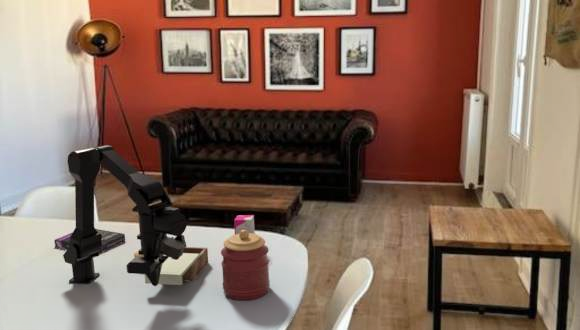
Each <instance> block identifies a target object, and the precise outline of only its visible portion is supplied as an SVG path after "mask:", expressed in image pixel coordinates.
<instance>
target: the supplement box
mask: <svg viewBox="0 0 580 330" xmlns="http://www.w3.org/2000/svg"><path fill="white" fill-rule="evenodd" d="M233 223H234V224H233V226H234V235H236V234H239V233H240V231H241V230H247V231H248V233H252V234H256V233H255V232H256V231H255V215H254V214H246V215H245V214H244V215H243V214H239V215H236V217H235V218H234V220H233Z"/></svg>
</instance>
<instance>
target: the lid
mask: <svg viewBox="0 0 580 330" xmlns="http://www.w3.org/2000/svg"><path fill="white" fill-rule="evenodd" d="M164 256H166V255H164ZM199 256H200V254H194V253H183V255H182V256H180V257H179V259H178V260H174V259H172V258H171V257H169V258H168V259H167V260H166V261H165V262H164V263H163V264H162V268H161V273H160V277H159V282H158V285H170V286H171V285H173V286H182V285H183V284H184V283H183V282H184V281H182V276H183V274H184V273H185V272H186V271H187V270H188V269H189V268H190V267H191V265H192V264H193V263H194V262H195V261H196V260H197V259H198V258H199ZM144 280H145V281H144V282H145V284H151V285H152V283H151V282H150V280H149V279H148V277H147V276H146V274H144Z"/></svg>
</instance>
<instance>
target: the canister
mask: <svg viewBox="0 0 580 330" xmlns="http://www.w3.org/2000/svg"><path fill="white" fill-rule="evenodd" d="M223 246H224V247H223V248H222V249H221V250H220V254H221V256H222V261H221V268H222V269H221V270H222V289H223V293H224V295H225V296H226V297H228V298H230V299H233V300H238V301H250V300H251V301H252V300H255V299H258V298H259V299H260V298H262V297H263V296H265V295H266V294H268V293H269V291H270V285H271V283H270V282H271V281H270V273H269V270H270V269H269V263H270V258H268V253H269V250H270V249H269V247H268V246H267V245H266V240H265V239H264V238H263V237H261V236H259V234H257V233H255V234H252V233H248V231H247V230H241V231H240V233H239V234H236V235H235V234H234V235H233V234H232V235H231V236H229V237H228V238H227V239H225V240H224V241H223Z"/></svg>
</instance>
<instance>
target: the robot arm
mask: <svg viewBox="0 0 580 330" xmlns="http://www.w3.org/2000/svg"><path fill="white" fill-rule="evenodd" d="M67 165H68V172H69V174H70V175H71V176H72V178H73V179H74V185H75V186H74V188H75V189H74V193H75V195H74V196H75V197H74V198H75V202H74V203H75V228H74V230H73V231H72V232H71V233H72V235H71V236H70V242H69V248H68V249H65V250H66V251H65V252H64V253H63V255H62V257H63V261H64V262H65V263H67V264H69V265H71V269H72V277H71V278H70V279H69V280H68V282H69V283H75V284H76V283H77V284H90V283H91V282H93V281H94V280H95V279H96V278H97V277H98V276H100V273H99V272H95V262H94V258H96V257H99V256H100V254H101V253H100V248H101V246H102V242H101V239H102V235H101V234H100V233H98V232H97V230H96V229H97V228H96V227H95V180H96V177H97V176H98V174H99V173H100V171H101V166H102V167H103V168H105V170H107V171H108V172H109V174H110V175H112V176H113V177H114V178H115V179H116V180H117V181H119V182H120V183H121V184H122V185H123V186H124V187H125V188H126V189H127V190H126V191H127V196H128V197H129V198H130V199H131V201H132V202H133V203H134V204H135V206H133V208H131V211H132V212H134V213H137V214H138V215H137V216H138V226H139V233H138V234H137V235H136V240H139V241H140V249H138V251H137V252H138V254H139V255H143V256H144V257H135V258H134V257H133V259H131V260H130V261H129V262H128V263H127V264H126V272H127V274H135V275H145V274H146V276H147V277H148V279H149V280H150V282H151V283H152V284H151V285H152V286H154V287H157V286H158V285H159V284H158V282H159V277H160V273H161V268H162V264H163V263H164V262H165V261H166V260H167V259H168V258H169V257H171V258H172V259H174V260H178V259H179V257H180V256H182V255H183V251H184V248H185V247H187V242H186V240H185V235H184V234H183V233H184V232H185V230H186V228H187V224H188V219H187V218H186V216H185V214H183V213H181V209H180V208H178V207H173V206H174V205H173V203H172V201H171V200H172V199H171V198H170V196H169V195H168V194H167V192H166V190H165V187H163V183H161V182H160V181H159V180H158V179H156V178H154V177H152V176H151V175H147V174H143V173H141V172H139V171H138V170H137V169H136V168H135V167H133V166H132V165H131V164H130V163H129V162H128V161H126V160H125V159H124V158H123V157H122V156H120V154H118V153H117V151H115V149H114V147H113V146H111V145H106V144H105V145H101V146H97V147H88V148H84V149H83V148H82V149H79V150H73V151H71V152H70V153H69V154H68V155H67ZM168 235H170V236H171V237H170V236H168ZM164 255H166V256H164Z"/></svg>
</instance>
